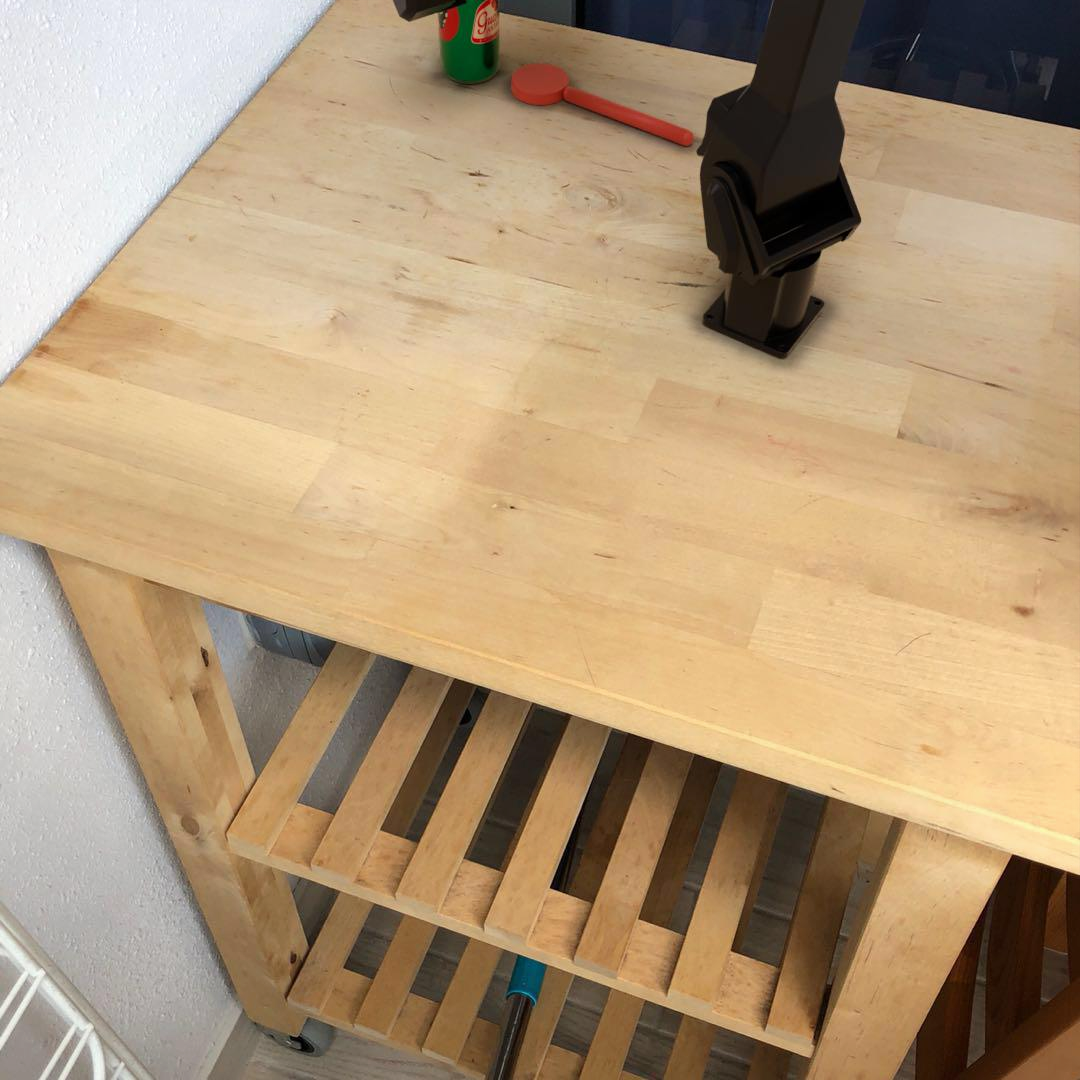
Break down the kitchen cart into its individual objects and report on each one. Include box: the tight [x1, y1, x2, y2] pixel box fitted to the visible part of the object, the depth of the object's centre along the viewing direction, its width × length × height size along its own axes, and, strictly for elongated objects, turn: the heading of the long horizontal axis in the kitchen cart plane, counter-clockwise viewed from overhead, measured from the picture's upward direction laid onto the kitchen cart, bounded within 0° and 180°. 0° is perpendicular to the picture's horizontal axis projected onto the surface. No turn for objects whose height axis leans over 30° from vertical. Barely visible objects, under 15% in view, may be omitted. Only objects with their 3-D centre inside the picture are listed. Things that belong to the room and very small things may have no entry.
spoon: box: [510, 62, 695, 147], centre depth 97 cm, size 17×5×1 cm, turn 57°
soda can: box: [437, 0, 501, 85], centre depth 97 cm, size 5×5×12 cm
